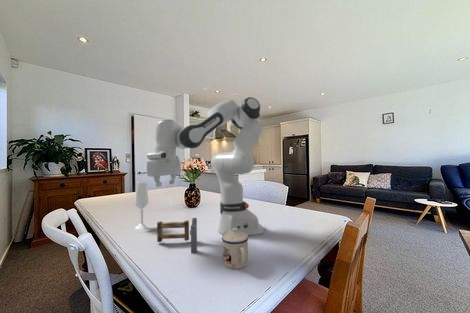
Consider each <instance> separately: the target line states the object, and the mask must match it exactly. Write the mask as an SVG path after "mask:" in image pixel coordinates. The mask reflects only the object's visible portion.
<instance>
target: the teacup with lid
mask: <svg viewBox="0 0 470 313" xmlns="http://www.w3.org/2000/svg"><path fill="white" fill-rule="evenodd" d="M221 240H222V264H223V266H225V267H226V268H228V269H232V270H239V269H242V268H244V267H246V266H247V265H248V264H249V236H248V235H247V234H246V233H244V232H241V231H239V230H238V228H232V231H230V232H227V233H225V234H222V237H221Z"/></svg>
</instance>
